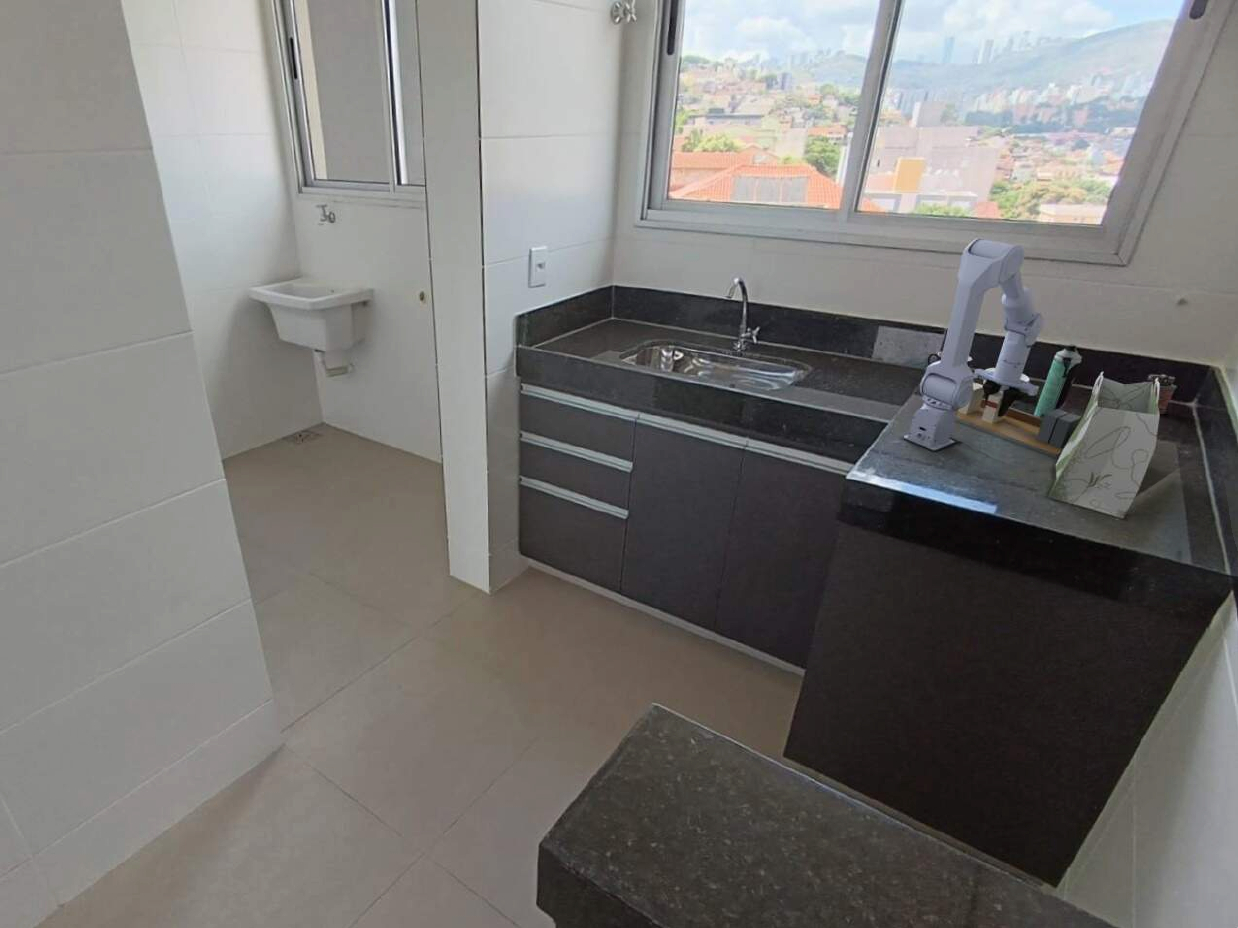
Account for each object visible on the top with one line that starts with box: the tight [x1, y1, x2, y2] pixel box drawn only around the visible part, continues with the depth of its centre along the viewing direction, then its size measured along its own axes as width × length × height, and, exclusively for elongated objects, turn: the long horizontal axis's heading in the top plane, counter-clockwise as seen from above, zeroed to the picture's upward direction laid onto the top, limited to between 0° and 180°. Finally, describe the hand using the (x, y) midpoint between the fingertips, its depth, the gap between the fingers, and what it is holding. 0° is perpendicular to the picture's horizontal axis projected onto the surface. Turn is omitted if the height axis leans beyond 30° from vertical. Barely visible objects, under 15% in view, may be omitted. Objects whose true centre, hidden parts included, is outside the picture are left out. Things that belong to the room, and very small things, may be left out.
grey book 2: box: [1049, 412, 1083, 448], centre depth 154 cm, size 6×3×6 cm, turn 126°
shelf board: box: [956, 397, 1064, 456], centre depth 164 cm, size 14×31×3 cm, turn 36°
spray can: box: [1033, 344, 1083, 418], centre depth 165 cm, size 6×6×20 cm
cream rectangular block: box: [958, 382, 985, 415], centre depth 169 cm, size 6×3×6 cm, turn 126°
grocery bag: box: [1047, 371, 1161, 520], centre depth 137 cm, size 32×14×23 cm, turn 144°
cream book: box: [982, 391, 1006, 424], centre depth 165 cm, size 6×3×6 cm, turn 126°
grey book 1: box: [1036, 409, 1069, 444], centre depth 156 cm, size 6×3×6 cm, turn 126°
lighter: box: [1142, 374, 1177, 415], centre depth 178 cm, size 8×3×10 cm, turn 84°
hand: (994, 413), depth 166 cm, fingers closed on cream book, 2 cm apart
